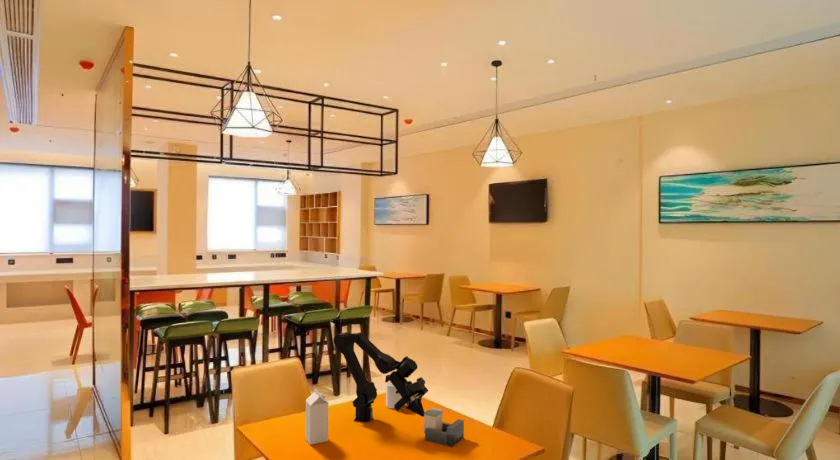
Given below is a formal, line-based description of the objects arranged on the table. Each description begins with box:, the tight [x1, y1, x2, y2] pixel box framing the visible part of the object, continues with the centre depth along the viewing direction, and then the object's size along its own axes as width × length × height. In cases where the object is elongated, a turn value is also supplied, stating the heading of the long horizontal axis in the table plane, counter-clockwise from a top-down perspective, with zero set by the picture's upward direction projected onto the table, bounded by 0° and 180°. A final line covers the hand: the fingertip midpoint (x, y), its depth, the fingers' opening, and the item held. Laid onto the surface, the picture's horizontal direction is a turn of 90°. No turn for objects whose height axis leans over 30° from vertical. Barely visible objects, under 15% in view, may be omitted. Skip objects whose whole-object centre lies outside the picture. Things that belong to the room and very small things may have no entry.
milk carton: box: [304, 388, 329, 446], centre depth 194 cm, size 7×7×19 cm
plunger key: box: [423, 407, 444, 435], centre depth 199 cm, size 5×6×8 cm
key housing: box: [424, 418, 465, 448], centre depth 196 cm, size 12×10×7 cm
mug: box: [385, 381, 402, 409], centre depth 233 cm, size 12×8×10 cm
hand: (424, 416), depth 201 cm, fingers closed
